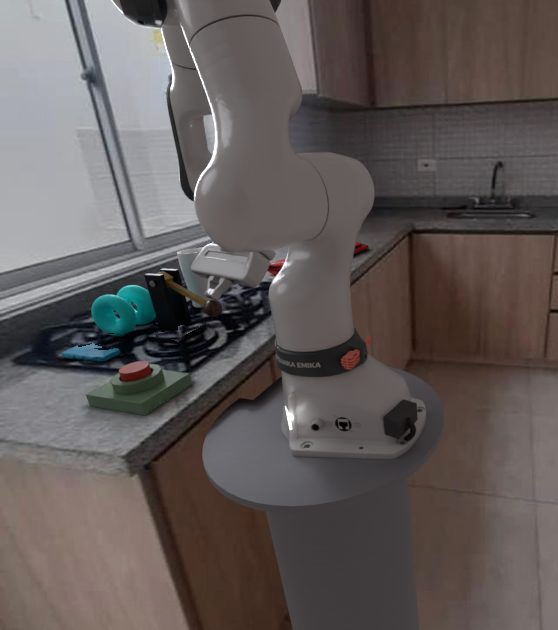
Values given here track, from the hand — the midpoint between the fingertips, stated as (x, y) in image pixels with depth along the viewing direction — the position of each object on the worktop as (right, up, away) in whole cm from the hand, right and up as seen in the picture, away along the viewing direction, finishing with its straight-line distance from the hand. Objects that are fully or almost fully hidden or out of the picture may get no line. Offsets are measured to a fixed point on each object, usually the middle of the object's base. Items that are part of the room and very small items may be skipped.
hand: (210, 298), depth 94 cm
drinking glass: (-14, -1, +25) cm, 29 cm away
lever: (-6, -1, +2) cm, 7 cm away
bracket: (-11, -8, +7) cm, 15 cm away
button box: (-3, -17, -18) cm, 25 cm away
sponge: (-24, -12, -2) cm, 27 cm away
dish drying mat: (+9, +16, +66) cm, 68 cm away
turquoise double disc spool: (-24, -7, +11) cm, 27 cm away
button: (-3, -14, -19) cm, 24 cm away
